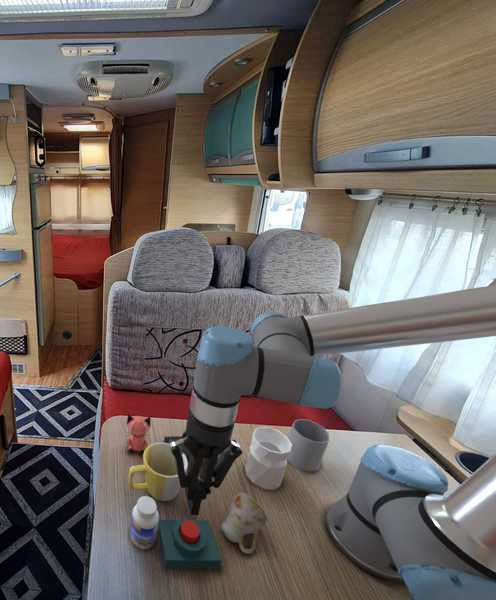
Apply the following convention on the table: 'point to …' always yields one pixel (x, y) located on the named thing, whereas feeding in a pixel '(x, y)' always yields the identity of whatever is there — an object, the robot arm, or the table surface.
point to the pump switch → (188, 545)
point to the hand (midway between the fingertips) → (192, 508)
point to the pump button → (189, 532)
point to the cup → (307, 444)
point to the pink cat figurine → (137, 433)
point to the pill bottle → (144, 522)
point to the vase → (267, 457)
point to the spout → (186, 452)
